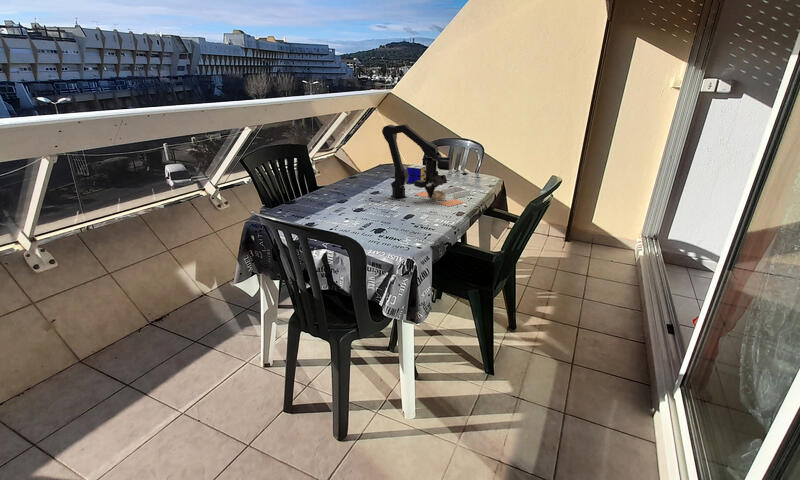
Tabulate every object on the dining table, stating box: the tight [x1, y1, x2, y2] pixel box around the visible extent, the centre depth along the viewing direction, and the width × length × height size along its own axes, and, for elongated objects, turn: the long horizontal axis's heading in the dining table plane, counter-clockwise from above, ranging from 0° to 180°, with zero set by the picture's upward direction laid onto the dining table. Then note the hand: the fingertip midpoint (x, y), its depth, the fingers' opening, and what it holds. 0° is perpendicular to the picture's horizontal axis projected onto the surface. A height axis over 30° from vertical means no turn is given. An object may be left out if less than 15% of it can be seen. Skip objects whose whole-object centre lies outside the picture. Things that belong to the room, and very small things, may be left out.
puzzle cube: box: [406, 163, 426, 184], centre depth 252 cm, size 10×10×10 cm
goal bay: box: [440, 185, 471, 199], centre depth 225 cm, size 12×11×3 cm
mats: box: [414, 190, 466, 207], centre depth 219 cm, size 12×29×1 cm, turn 36°
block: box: [430, 189, 447, 202], centre depth 218 cm, size 6×6×4 cm
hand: (430, 197), depth 215 cm, fingers closed
